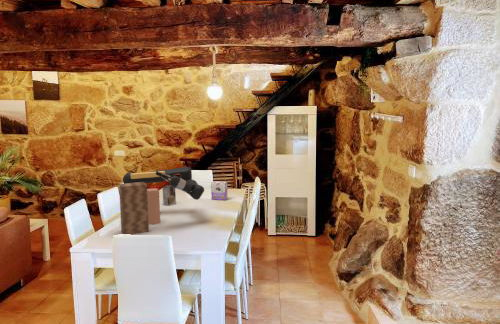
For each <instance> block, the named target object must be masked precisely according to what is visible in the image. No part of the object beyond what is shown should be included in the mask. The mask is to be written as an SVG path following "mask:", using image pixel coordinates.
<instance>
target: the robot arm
mask: <svg viewBox="0 0 500 324" xmlns="http://www.w3.org/2000/svg"><path fill="white" fill-rule="evenodd" d="M158 171H165V174H162V173H160V172H158ZM149 172H156V175H158V176H161V177H149V178H137V179H131V174H132V173H133V172H132V171H130V172H129V171H128V172H126V173H125V174H124V175H123V177H122V183H123V184H126V183H137V182H144V183H146V184H152V183H156V184H157V183H163V182H165V181H166V182H168V184H169V185H171V186H173V187H175V189H176V190H180V191H183V192H185V193H186V194H188V195H189V196H190V197H191V198H192V199H194V200H196V201H198V200H199V199H201V197H202V195H203V193H204V192H205V188H204V186H202V185H200V184H199V183H198V182H197V181H196V180H195V179H193V175H192V168H191V167H190V166H182V167H177V168H176V167H175V168H171V169H170V168H169V169H158V170H151V171H149ZM177 175H179V176H177Z"/></svg>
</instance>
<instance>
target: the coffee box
mask: <svg viewBox="0 0 500 324" xmlns="http://www.w3.org/2000/svg"><path fill="white" fill-rule="evenodd" d="M176 204H177V200H176V188H175V187H173V186H171V185H168V184H167V185H165V186H162V205H163V206H167V207H170V206H173V205H176Z"/></svg>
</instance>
